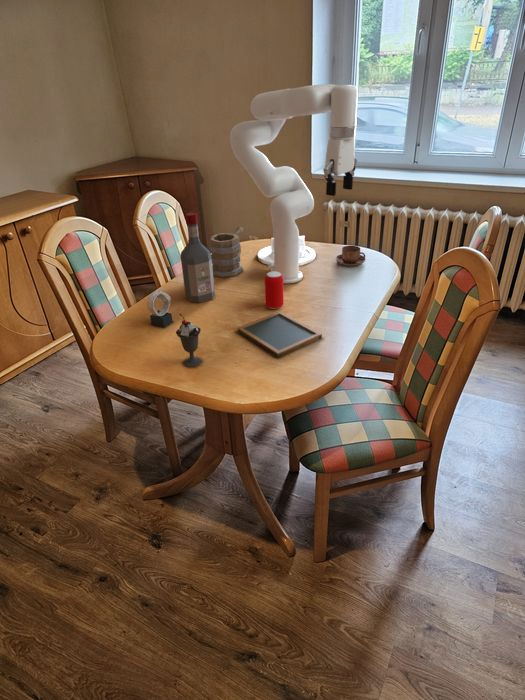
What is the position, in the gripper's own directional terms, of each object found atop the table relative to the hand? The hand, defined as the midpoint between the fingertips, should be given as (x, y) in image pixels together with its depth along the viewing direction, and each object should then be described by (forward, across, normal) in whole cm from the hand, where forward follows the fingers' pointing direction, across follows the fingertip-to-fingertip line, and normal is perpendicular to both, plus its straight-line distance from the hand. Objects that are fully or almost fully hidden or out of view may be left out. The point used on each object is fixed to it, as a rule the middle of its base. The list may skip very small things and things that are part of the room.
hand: (339, 192), depth 145 cm
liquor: (+36, +30, -37) cm, 60 cm away
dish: (+36, -21, -38) cm, 56 cm away
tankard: (+36, +3, -48) cm, 60 cm away
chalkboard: (+36, +35, +3) cm, 50 cm away
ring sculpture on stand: (+36, +52, -33) cm, 71 cm away
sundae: (+36, +61, -7) cm, 71 cm away
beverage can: (+36, +20, -11) cm, 43 cm away
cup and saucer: (+36, -30, -11) cm, 48 cm away
